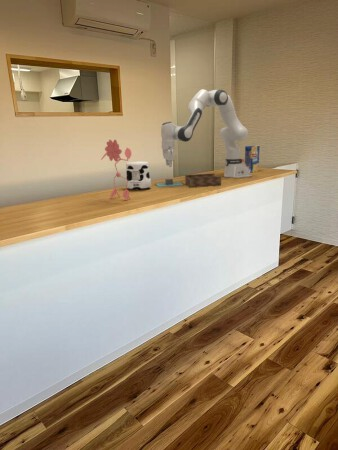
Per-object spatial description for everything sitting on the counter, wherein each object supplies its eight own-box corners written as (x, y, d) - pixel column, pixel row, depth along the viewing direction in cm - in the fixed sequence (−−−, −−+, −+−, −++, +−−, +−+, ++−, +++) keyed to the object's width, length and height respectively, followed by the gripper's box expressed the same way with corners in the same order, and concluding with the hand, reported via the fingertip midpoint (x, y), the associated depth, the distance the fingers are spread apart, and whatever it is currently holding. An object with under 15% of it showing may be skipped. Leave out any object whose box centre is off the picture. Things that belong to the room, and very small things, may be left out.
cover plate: (179, 183, 246) (179, 177, 244) (183, 186, 235) (183, 179, 233) (155, 185, 242) (155, 178, 241) (158, 188, 231) (158, 181, 230)
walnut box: (214, 182, 244) (214, 173, 242) (221, 185, 230) (221, 176, 228) (185, 184, 240) (185, 175, 238) (190, 187, 226) (190, 178, 224)
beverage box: (258, 171, 290) (259, 145, 284) (250, 172, 284) (251, 146, 277) (251, 170, 295) (253, 145, 289) (244, 172, 289) (245, 146, 282)
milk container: (143, 185, 238) (142, 160, 233) (156, 189, 224) (155, 162, 219) (121, 188, 229) (120, 162, 224) (133, 192, 215) (131, 164, 210)
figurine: (111, 195, 208) (105, 138, 197) (141, 200, 192) (136, 138, 181) (92, 200, 196) (85, 140, 185) (122, 206, 181) (116, 140, 170)
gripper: (175, 146, 221) (176, 167, 225) (169, 145, 240) (170, 164, 245) (166, 147, 220) (167, 168, 224) (161, 145, 239) (162, 164, 243)
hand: (169, 166), depth 235 cm, fingers open, 8 cm apart
